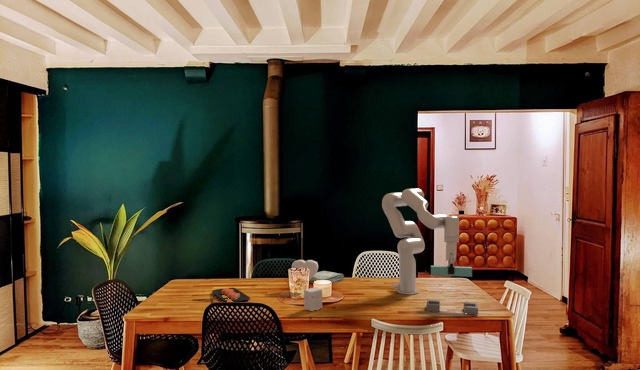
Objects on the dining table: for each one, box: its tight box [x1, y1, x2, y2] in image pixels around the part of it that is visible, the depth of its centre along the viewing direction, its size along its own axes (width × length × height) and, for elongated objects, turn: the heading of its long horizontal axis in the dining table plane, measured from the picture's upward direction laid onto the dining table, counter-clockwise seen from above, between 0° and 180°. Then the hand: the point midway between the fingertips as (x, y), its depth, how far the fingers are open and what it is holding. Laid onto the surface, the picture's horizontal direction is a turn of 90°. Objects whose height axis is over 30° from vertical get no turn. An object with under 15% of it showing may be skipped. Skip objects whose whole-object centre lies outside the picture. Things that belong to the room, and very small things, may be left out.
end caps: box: [425, 299, 479, 315], centre depth 234 cm, size 25×9×4 cm, turn 75°
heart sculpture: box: [291, 259, 319, 279], centre depth 275 cm, size 16×5×18 cm, turn 81°
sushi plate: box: [193, 287, 251, 304], centre depth 258 cm, size 29×30×4 cm
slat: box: [430, 265, 473, 278], centre depth 244 cm, size 21×3×4 cm, turn 75°
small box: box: [303, 287, 323, 311], centre depth 237 cm, size 8×6×10 cm
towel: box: [309, 270, 345, 284], centre depth 298 cm, size 18×21×5 cm
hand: (451, 272), depth 244 cm, fingers closed on slat, 3 cm apart
